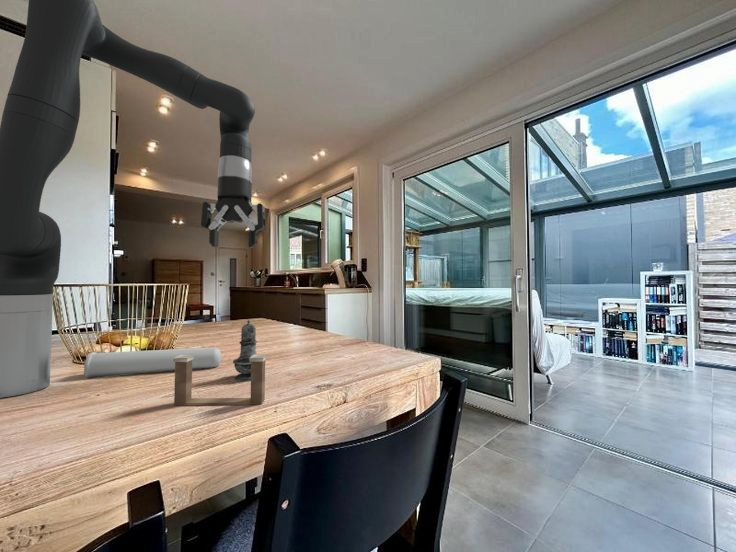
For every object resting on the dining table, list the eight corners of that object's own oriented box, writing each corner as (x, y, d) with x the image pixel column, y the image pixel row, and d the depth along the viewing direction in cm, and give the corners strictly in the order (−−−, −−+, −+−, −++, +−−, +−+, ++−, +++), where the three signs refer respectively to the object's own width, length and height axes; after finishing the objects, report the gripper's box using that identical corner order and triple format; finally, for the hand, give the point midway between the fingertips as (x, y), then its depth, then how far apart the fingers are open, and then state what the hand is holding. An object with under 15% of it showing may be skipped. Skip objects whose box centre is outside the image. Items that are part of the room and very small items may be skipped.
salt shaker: (256, 371, 70) (257, 317, 70) (266, 378, 66) (267, 320, 66) (228, 376, 66) (229, 319, 67) (237, 383, 62) (238, 322, 62)
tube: (222, 347, 78) (97, 353, 69) (221, 344, 73) (86, 350, 64) (221, 369, 76) (92, 379, 67) (220, 368, 72) (81, 377, 63)
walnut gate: (172, 405, 51) (173, 358, 51) (179, 400, 53) (180, 355, 53) (262, 404, 51) (263, 357, 52) (266, 399, 54) (266, 354, 54)
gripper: (197, 173, 72) (194, 244, 71) (260, 175, 72) (259, 245, 72) (211, 184, 79) (209, 248, 78) (269, 185, 80) (267, 249, 79)
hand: (233, 247), depth 75 cm, fingers open, 8 cm apart
